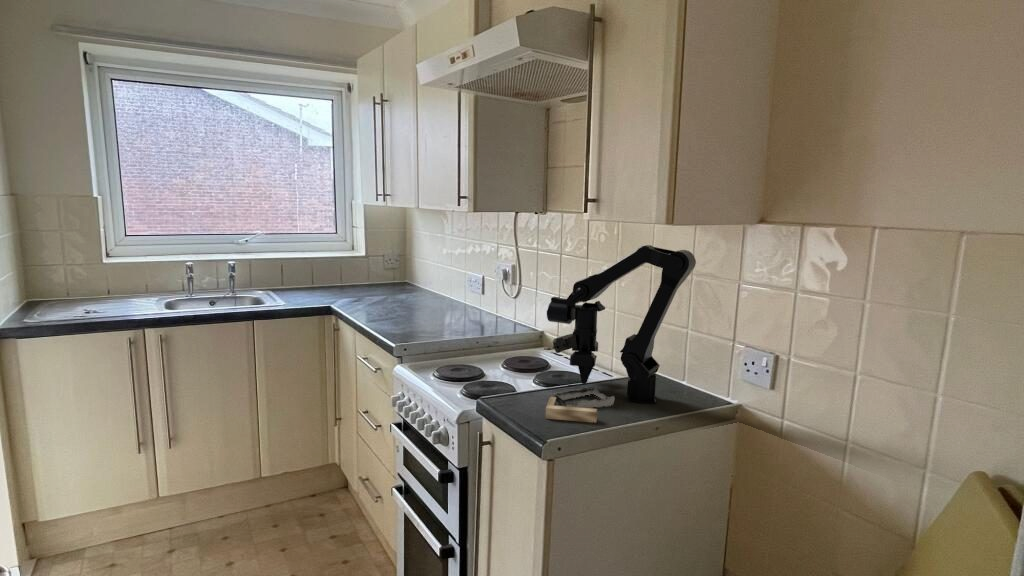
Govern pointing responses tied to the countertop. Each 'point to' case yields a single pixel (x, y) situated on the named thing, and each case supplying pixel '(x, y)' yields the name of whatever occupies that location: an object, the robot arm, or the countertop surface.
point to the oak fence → (569, 412)
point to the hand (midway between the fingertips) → (583, 383)
